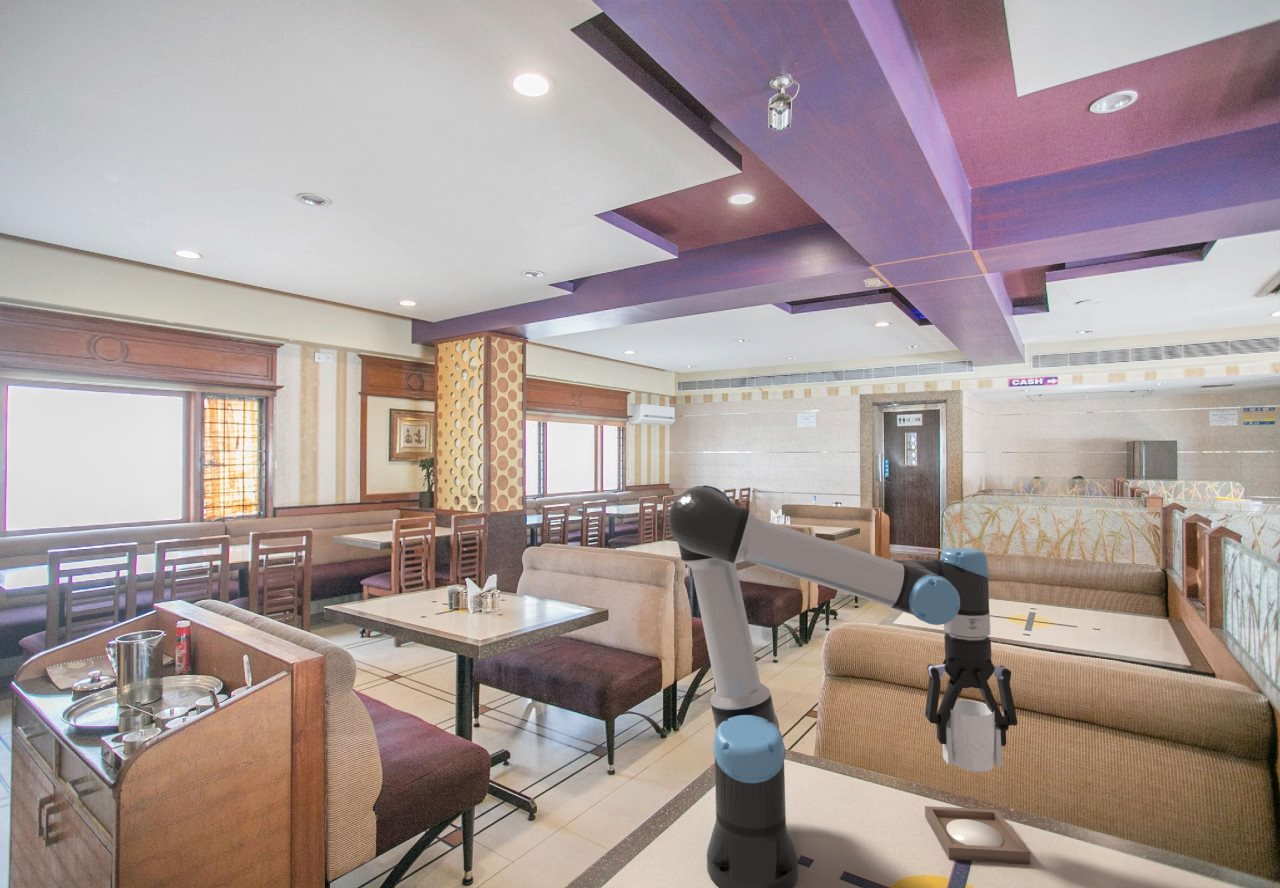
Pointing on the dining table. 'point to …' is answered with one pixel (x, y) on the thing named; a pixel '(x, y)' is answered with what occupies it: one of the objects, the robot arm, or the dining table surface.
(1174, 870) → the dining table surface
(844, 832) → the dining table surface
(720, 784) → the robot arm
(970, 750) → the white cup
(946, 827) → the tray
